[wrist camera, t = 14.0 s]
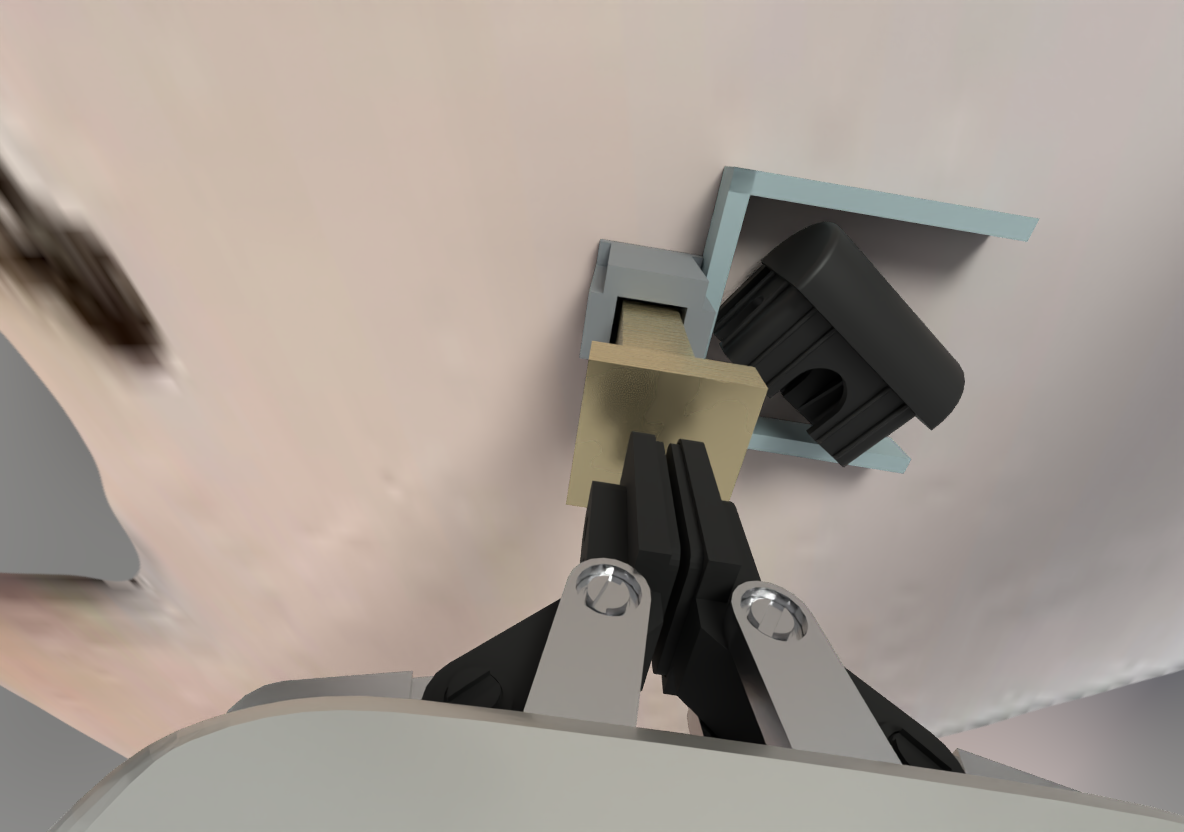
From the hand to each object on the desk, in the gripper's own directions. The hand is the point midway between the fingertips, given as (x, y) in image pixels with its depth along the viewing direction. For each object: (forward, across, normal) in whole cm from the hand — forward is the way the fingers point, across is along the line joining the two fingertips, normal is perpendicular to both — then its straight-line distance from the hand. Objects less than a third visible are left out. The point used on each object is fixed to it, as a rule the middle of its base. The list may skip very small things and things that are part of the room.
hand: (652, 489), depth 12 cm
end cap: (+18, -10, 0) cm, 21 cm away
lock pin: (+12, 0, 0) cm, 12 cm away
